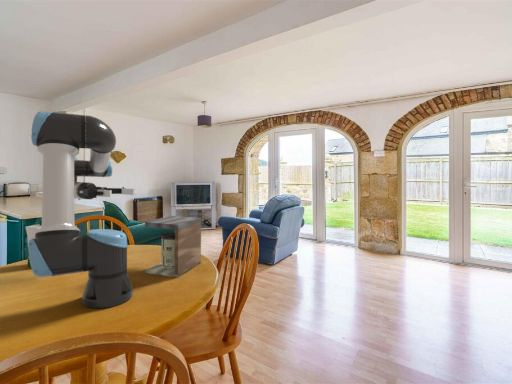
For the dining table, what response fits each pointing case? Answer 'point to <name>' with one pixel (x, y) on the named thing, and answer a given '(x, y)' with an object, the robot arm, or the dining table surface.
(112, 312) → the dining table surface
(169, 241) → the coffee can
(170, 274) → the brown piece
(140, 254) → the dining table surface
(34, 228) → the milk carton
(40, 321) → the dining table surface
